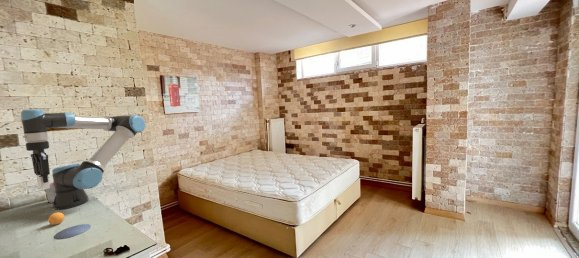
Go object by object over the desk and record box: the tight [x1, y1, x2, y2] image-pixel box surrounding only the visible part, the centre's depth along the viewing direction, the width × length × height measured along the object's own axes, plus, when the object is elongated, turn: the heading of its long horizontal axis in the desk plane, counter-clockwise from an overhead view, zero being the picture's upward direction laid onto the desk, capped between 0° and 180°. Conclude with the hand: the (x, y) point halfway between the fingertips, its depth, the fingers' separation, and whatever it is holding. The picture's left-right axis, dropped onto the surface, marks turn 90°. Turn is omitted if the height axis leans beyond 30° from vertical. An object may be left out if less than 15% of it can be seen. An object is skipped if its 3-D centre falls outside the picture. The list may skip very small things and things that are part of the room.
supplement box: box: [45, 181, 56, 204], centre depth 141 cm, size 6×6×12 cm
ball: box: [47, 212, 65, 226], centre depth 111 cm, size 6×6×6 cm
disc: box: [53, 223, 92, 240], centre depth 103 cm, size 12×12×1 cm
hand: (44, 188), depth 114 cm, fingers open, 3 cm apart
